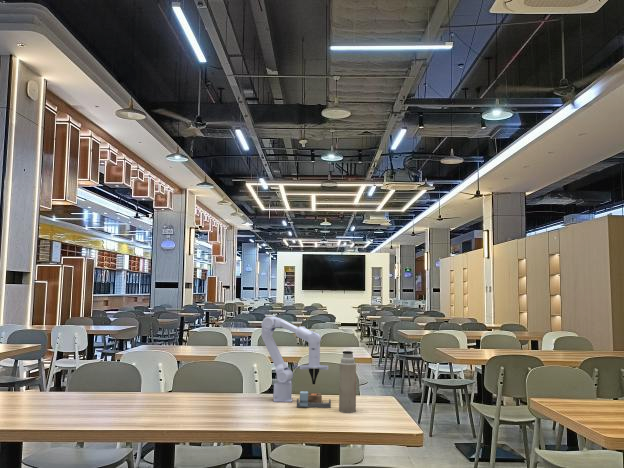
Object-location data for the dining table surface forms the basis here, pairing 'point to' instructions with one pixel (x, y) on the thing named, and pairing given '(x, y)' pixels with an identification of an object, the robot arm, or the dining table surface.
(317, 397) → the square wooden frame
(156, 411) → the dining table surface
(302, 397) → the block
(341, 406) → the thermos bottle
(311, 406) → the rail
